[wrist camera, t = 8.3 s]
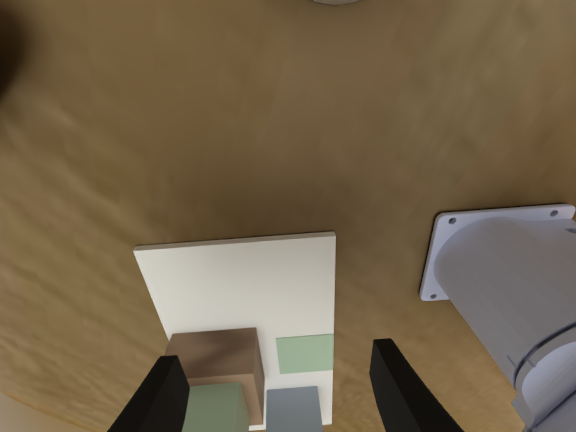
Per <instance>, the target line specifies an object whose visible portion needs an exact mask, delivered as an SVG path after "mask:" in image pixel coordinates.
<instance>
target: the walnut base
mask: <svg viewBox="0 0 576 432" xmlns="http://www.w3.org/2000/svg"><path fill="white" fill-rule="evenodd" d="M171 355H178V358H179V361H180V363H181V366H182V368H183V371H184V373H185V376H186V378H187V381H188V383H189V386H200V385H212V384H223V383H235V382H240V383H241V387H242V391H243V395H244V399H245V402H246V406H247V410H248V414H249V418H250V422H249V426H253V425H263V418H264V386H265V376H264V370H263V364H262V358H261V352H260V347H259V341H258V335H257V329H256V327H253V328H240V329H227V330H214V331H201V332H188V333H175V334H172V336H171V339H170V341H169V344H168V347H167V349H166V352H165V355H164V356H171Z"/></svg>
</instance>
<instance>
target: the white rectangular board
mask: <svg viewBox="0 0 576 432" xmlns="http://www.w3.org/2000/svg"><path fill="white" fill-rule="evenodd" d="M335 251H336V235H335V232H334V231H332V232H319V233H305V234H292V235H278V236H265V237H252V238H238V239H225V240H211V241H198V242H185V243H171V244H158V245H144V246H136V248H135V249H134V251H133V252H134V255H135V257H136V260H137V262H138V265H139V267H140V270H141V272H142V275H143V277H144V280H145V282H146V285H147V287H148V290H149V292H150V295H151V297H152V300H153V302H154V305H155V307H156V310H157V312H158V315H159V317H160V320H161V322H162V325H163V327H164V330H165V332H166V335H167V337H168V340H169V341H170V339H171V336H172V334H175V333H188V332H201V331H214V330H227V329H240V328H253V327H256V329H257V335H258V341H259V347H260V352H261V358H262V364H263V370H264V376H265V386H264V418H263V425H253V426H249V431H250V430H263V429H266V400H267V390H270V389H282V388H295V387H308V386H317V387H318V395H319V403H320V410H321V418H322V425H327V424H332V382H333V348H334V294H335Z"/></svg>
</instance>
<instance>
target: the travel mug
mask: <svg viewBox="0 0 576 432" xmlns="http://www.w3.org/2000/svg"><path fill="white" fill-rule="evenodd" d="M312 1H315V2H319V3H323V4H332V5H339V4H348V3H353V2H356V1H359V0H312Z"/></svg>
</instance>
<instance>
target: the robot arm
mask: <svg viewBox="0 0 576 432" xmlns="http://www.w3.org/2000/svg"><path fill="white" fill-rule="evenodd" d="M575 210H576V209H575V207H574V206H572V205H570V204H556V205H542V206H529V207H515V208H502V209H489V210H475V211H462V212H448V213H441V214H439V215H438V216H437V217H436V220H435V224H434V229H433V233H432V238H431V242H430V247H429V252H428V256H427V261H426V265H425V270H424V275H423V279H422V284H421V288H420V293H419V296H420V298H421V299H422V300H423V301H433V300H446V299H450V300H451V302H452V303H453V305H454V306H455V307H456V309H457V310H458V312H459V313H460V314H461V316H462V317H463V318H464V320H465V321H466V323H467V324H468V325H469V327H470V328H471V329H472V331H473V332H474V334H475V335H476V336H477V338H478V339H479V340H480V342H481V343H482V345H483V346H484V347H485V349H486V350H487V351H488V353H489V354H490V356H491V357H492V358H493V360H494V361H495V362H496V364H497V365H498V367H499V368H500V369H501V371H502V372H503V373H504V375H505V376H506V378H507V379H508V380H509V382H510V383H511V385H512V386H513V387H514V389H515V390H516V391H517V396H516V398H515V399H514V400H513V401H512V405H513V407H514V408H515V410H516V411H517V413H518V414H519V416H520V417H521V419H522V420H523V422H524V423H525V424H526V425H525V427H524V429H523V431H522V432H576V222H575V221H574V220H572V217H573V215H574V213H575ZM451 218H453V219H452V220H451V221H449V220H450V219H451ZM432 294H433V295H432ZM369 374H370V379H371V383H372V387H373V391H374V395H375V399H376V403H377V407H378V410H379V413H380V416H381V419H382V422H383V425H384V427H385V430H386V432H464V431H463V430H462V429H461V427H460V426H459V425H458V424H457V423H456V422H455V421H454V419H453V418H452V417H451V416H450V415H449V414H448V412H447V411H446V410H445V409H444V408H443V406H442V405H441V404H440V403H439V402H438V400H437V399H436V398H435V397H434V395H433V394H432V393H431V392H430V390H429V389H428V388H427V387H426V385H425V384H424V383H423V381H422V380H421V379H420V378H419V376H418V375H417V374H416V372H415V371H414V370H413V368H412V367H411V366H410V364H409V363H408V361H407V360H406V359H405V357H404V356H403V354H402V353H401V352H400V350H399V349H398V347H397V346H396V344H395V343H394V341H393V340H392V339H390V338H388V339H375V340H374V341H373V349H372V356H371V364H370V372H369ZM189 392H190V386H189V383H188V381H187V378H186V376H185V373H184V371H183V368H182V366H181V363H180V361H179V358H178V355H171V356H161V357H160V358H159V359H158V360H157V361H156V363H155V364H154V366H153V367H152V369H151V370H150V372H149V373H148V375H147V376H146V378H145V379H144V381H143V382H142V384H141V385H140V387H139V388H138V389H137V391H136V392H135V394H134V395H133V397H132V398H131V400H130V401H129V402H128V404H127V405H126V406H125V408H124V409H123V411H122V412H121V413H120V415H119V416H118V418H117V419H116V420H115V422H114V423H113V424H112V426H111V427H110V428H109V430H108V431H107V432H182V429H183V425H184V421H185V416H186V410H187V405H188V398H189Z"/></svg>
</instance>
